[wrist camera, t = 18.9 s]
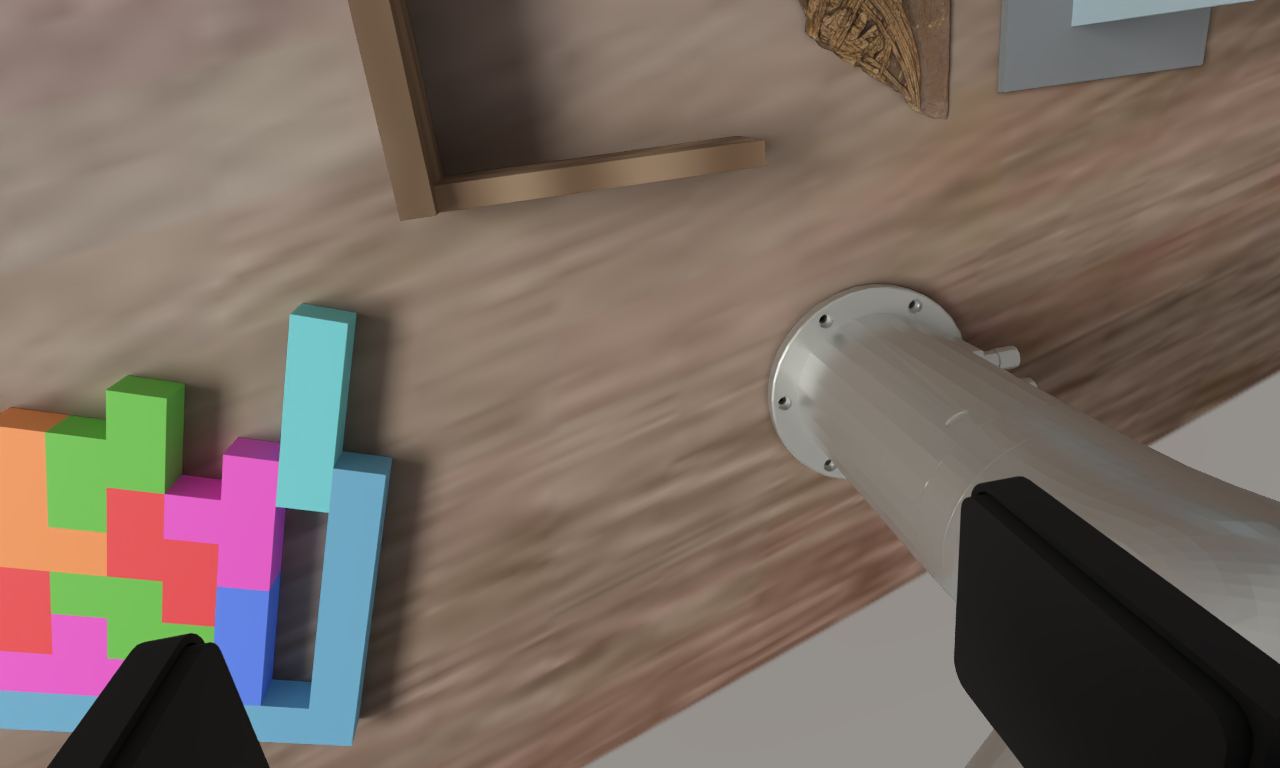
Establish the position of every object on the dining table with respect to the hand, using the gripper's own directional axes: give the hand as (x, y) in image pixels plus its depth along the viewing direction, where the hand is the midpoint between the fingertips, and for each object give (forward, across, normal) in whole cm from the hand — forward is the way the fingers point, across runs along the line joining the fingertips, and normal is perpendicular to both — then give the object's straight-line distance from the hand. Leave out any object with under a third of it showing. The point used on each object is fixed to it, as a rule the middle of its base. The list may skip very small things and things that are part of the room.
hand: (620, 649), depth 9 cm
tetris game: (+34, +26, +12) cm, 45 cm away
